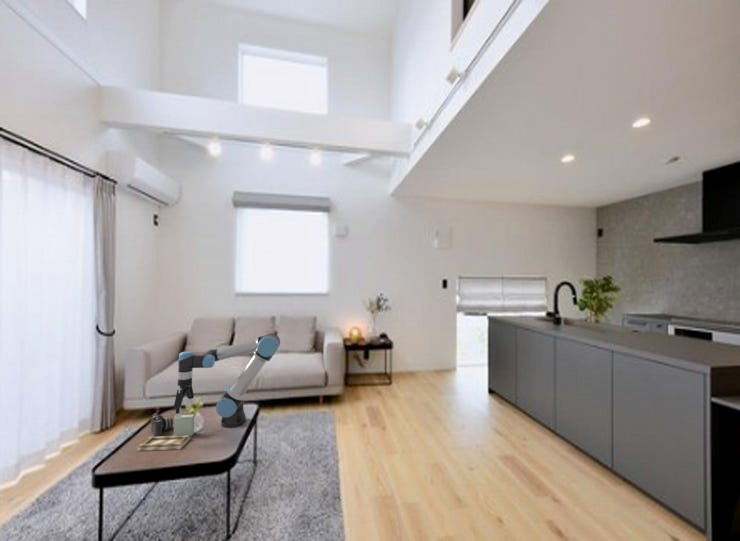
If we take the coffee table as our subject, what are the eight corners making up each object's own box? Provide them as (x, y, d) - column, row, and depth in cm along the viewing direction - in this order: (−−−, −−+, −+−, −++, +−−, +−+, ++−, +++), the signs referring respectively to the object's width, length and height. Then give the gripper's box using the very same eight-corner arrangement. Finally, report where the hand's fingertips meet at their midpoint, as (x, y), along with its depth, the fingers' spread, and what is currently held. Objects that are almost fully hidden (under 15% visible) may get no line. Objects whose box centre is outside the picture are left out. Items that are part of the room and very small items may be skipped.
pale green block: (193, 433, 198) (194, 414, 198) (191, 435, 194) (191, 417, 195) (176, 433, 197) (177, 415, 197) (173, 436, 193) (173, 417, 194)
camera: (175, 432, 199) (175, 415, 199) (154, 438, 191) (154, 421, 191) (169, 425, 209) (169, 409, 209) (149, 430, 201) (149, 413, 202)
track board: (190, 438, 191) (190, 434, 191) (180, 449, 179) (180, 444, 179) (150, 440, 189) (150, 435, 189) (137, 450, 177) (137, 446, 177)
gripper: (188, 372, 209) (186, 406, 208) (167, 384, 184) (166, 423, 183) (200, 372, 209) (199, 406, 209) (181, 384, 185) (180, 422, 184)
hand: (183, 414), depth 196 cm, fingers open, 13 cm apart
